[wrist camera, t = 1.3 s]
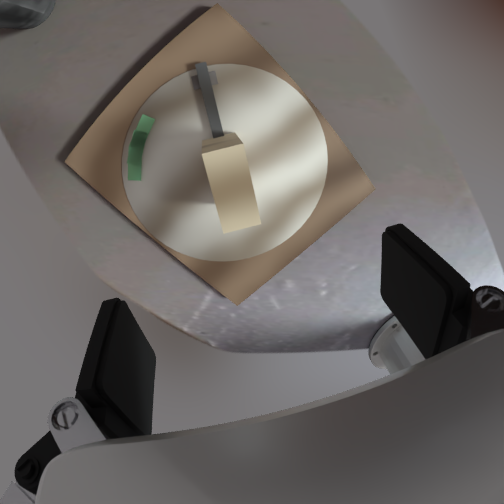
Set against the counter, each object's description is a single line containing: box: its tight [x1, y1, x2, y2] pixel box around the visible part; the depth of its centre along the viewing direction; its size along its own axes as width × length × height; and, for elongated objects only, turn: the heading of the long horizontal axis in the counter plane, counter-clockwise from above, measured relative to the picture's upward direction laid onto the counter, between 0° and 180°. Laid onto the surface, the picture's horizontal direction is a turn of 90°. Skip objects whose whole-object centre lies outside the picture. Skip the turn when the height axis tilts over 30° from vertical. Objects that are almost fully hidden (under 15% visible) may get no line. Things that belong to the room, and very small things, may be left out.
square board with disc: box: [65, 3, 375, 306], centre depth 27 cm, size 23×19×2 cm
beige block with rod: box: [195, 62, 261, 234], centre depth 22 cm, size 12×3×6 cm, turn 12°
